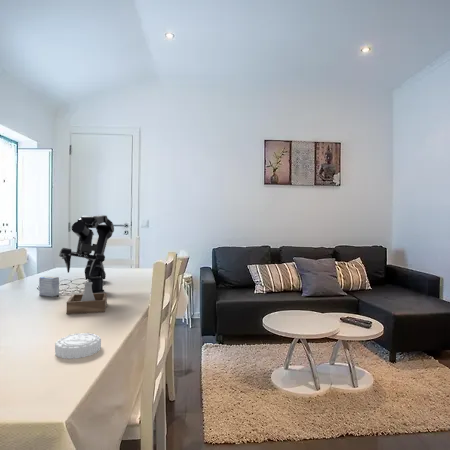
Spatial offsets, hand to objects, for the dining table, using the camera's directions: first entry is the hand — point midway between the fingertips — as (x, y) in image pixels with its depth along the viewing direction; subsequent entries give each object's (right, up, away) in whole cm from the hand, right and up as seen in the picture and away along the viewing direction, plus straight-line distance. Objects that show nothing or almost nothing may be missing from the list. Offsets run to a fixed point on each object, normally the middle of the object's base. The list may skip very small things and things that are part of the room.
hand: (79, 274), depth 153 cm
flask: (+9, -12, -12) cm, 19 cm away
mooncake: (+23, -14, -55) cm, 62 cm away
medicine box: (-19, -12, +10) cm, 24 cm away
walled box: (+9, -12, -12) cm, 19 cm away
